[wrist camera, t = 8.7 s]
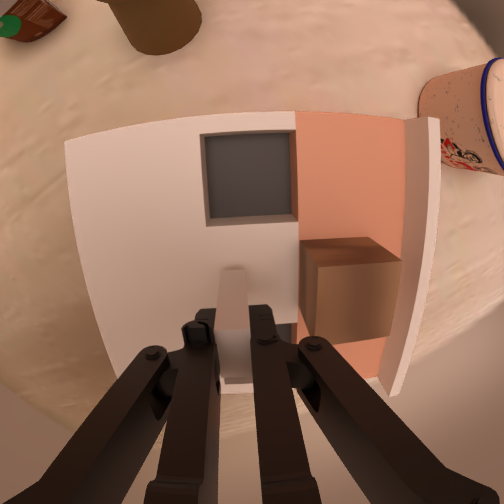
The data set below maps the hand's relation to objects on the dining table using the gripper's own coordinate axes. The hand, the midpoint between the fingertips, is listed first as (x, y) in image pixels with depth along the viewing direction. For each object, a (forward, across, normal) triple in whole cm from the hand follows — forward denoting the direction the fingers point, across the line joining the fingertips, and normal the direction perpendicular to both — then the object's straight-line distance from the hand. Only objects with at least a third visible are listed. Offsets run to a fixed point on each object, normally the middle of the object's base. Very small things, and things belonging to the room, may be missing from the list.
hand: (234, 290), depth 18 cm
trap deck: (+5, 0, 0) cm, 5 cm away
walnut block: (+2, +7, 0) cm, 7 cm away
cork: (+5, -4, +20) cm, 21 cm away
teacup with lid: (+5, +21, +12) cm, 25 cm away
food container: (+5, -20, +26) cm, 33 cm away
